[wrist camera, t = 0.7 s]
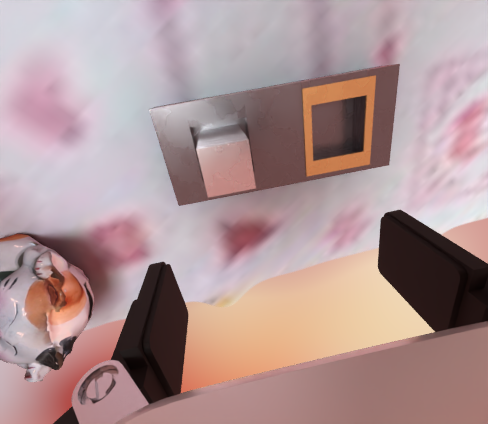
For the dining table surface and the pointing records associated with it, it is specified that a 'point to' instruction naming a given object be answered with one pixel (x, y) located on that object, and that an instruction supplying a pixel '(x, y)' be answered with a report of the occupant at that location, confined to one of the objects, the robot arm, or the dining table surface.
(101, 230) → the dining table surface
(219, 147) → the steel peg
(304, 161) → the hole rail
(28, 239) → the lucky cat figurine
